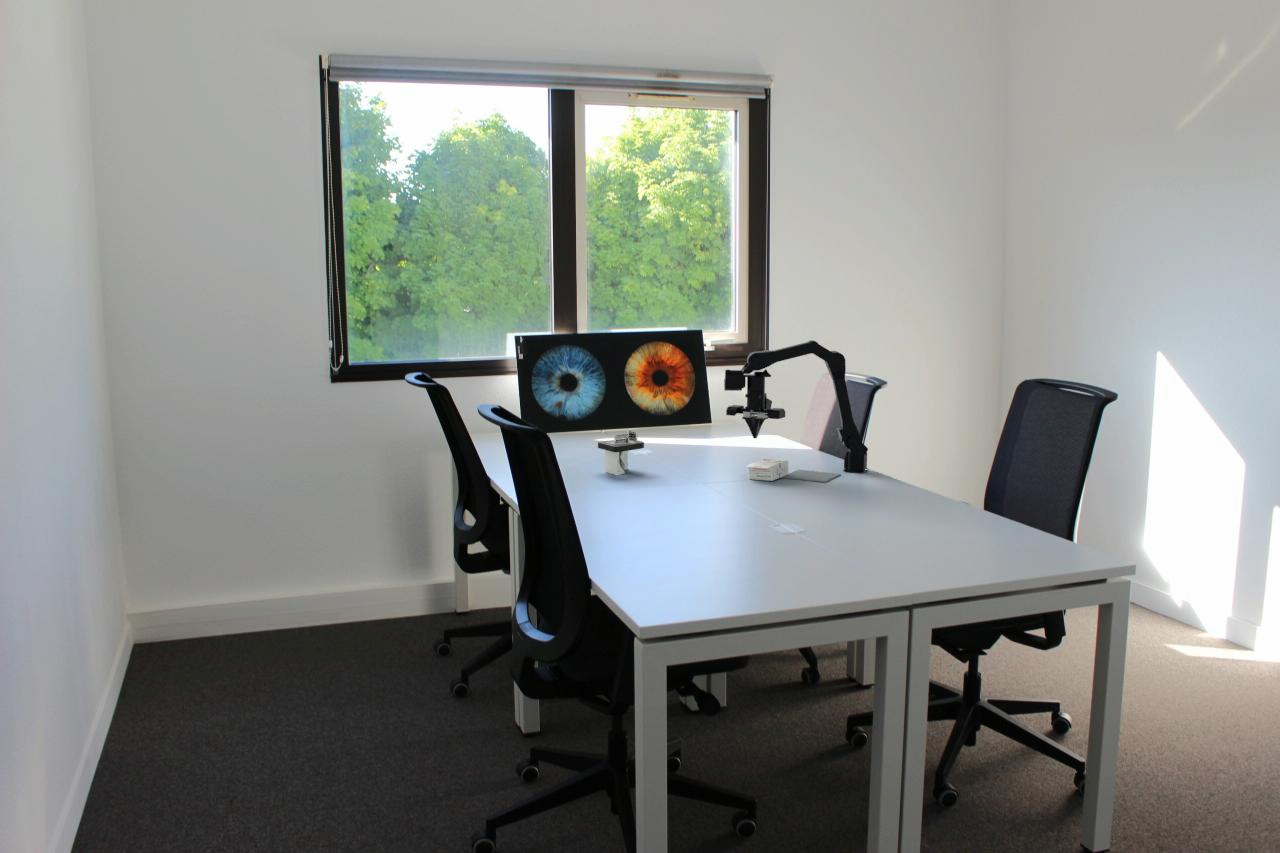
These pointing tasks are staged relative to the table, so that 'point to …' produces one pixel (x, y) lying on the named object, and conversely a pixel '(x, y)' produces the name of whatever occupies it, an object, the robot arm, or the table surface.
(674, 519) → the table surface
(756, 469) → the ink cartridge box
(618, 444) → the black-topped pedestal
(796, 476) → the mat
